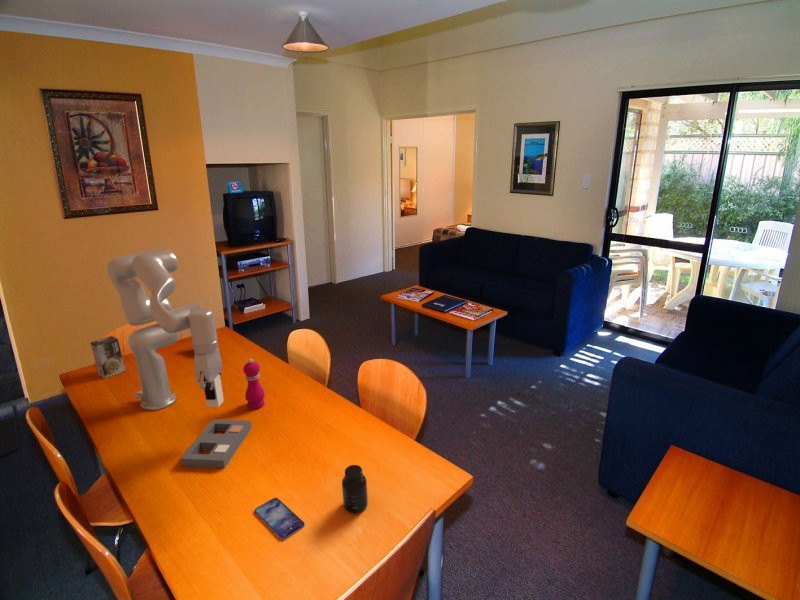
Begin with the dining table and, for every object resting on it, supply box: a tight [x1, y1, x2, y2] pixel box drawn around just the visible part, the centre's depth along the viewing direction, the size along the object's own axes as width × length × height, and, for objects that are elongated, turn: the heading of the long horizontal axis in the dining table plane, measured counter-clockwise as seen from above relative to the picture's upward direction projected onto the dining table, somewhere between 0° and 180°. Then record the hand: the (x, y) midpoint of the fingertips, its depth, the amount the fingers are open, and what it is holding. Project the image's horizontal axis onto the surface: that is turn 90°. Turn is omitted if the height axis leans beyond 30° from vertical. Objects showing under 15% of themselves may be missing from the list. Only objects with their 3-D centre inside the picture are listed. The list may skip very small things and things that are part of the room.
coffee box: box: [90, 335, 126, 379], centre depth 206 cm, size 9×6×16 cm
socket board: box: [180, 418, 252, 469], centre depth 156 cm, size 14×22×3 cm, turn 175°
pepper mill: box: [242, 358, 266, 410], centre depth 177 cm, size 7×7×20 cm
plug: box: [204, 375, 225, 408], centre depth 156 cm, size 4×4×12 cm
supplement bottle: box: [341, 464, 369, 514], centre depth 128 cm, size 7×7×12 cm
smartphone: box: [254, 497, 306, 541], centre depth 125 cm, size 7×1×15 cm
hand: (214, 395), depth 156 cm, fingers closed on plug, 4 cm apart
